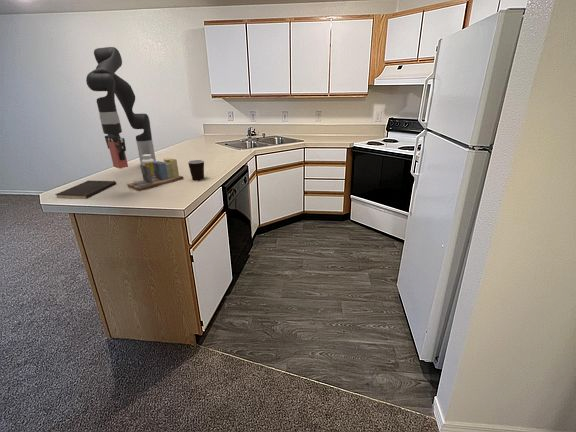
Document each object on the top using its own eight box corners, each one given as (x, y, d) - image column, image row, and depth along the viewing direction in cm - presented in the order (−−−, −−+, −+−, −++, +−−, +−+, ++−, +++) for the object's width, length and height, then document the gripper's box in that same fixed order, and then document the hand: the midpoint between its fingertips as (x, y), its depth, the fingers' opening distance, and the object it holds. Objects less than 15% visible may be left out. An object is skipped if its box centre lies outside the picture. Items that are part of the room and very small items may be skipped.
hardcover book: (56, 198, 148) (54, 194, 147) (89, 184, 169) (88, 180, 168) (87, 199, 146) (85, 195, 146) (116, 185, 167) (115, 181, 166)
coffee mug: (201, 181, 170) (199, 163, 166) (187, 180, 172) (185, 163, 168) (210, 175, 181) (208, 159, 177) (197, 175, 182) (195, 158, 178)
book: (113, 166, 147) (107, 141, 142) (121, 164, 150) (116, 139, 145) (119, 168, 143) (113, 142, 138) (128, 166, 146) (122, 141, 141)
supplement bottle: (159, 176, 181) (155, 154, 176) (149, 178, 176) (145, 156, 171) (152, 174, 184) (148, 153, 179) (142, 177, 179) (137, 155, 174)
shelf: (127, 186, 162) (123, 166, 158) (170, 175, 181) (167, 157, 177) (139, 191, 156) (135, 170, 151) (183, 179, 175) (180, 160, 170)
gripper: (94, 122, 139) (103, 158, 146) (109, 124, 131) (118, 163, 138) (111, 120, 145) (119, 155, 152) (126, 122, 137) (134, 159, 144)
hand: (119, 159), depth 145 cm, fingers closed on book, 6 cm apart
